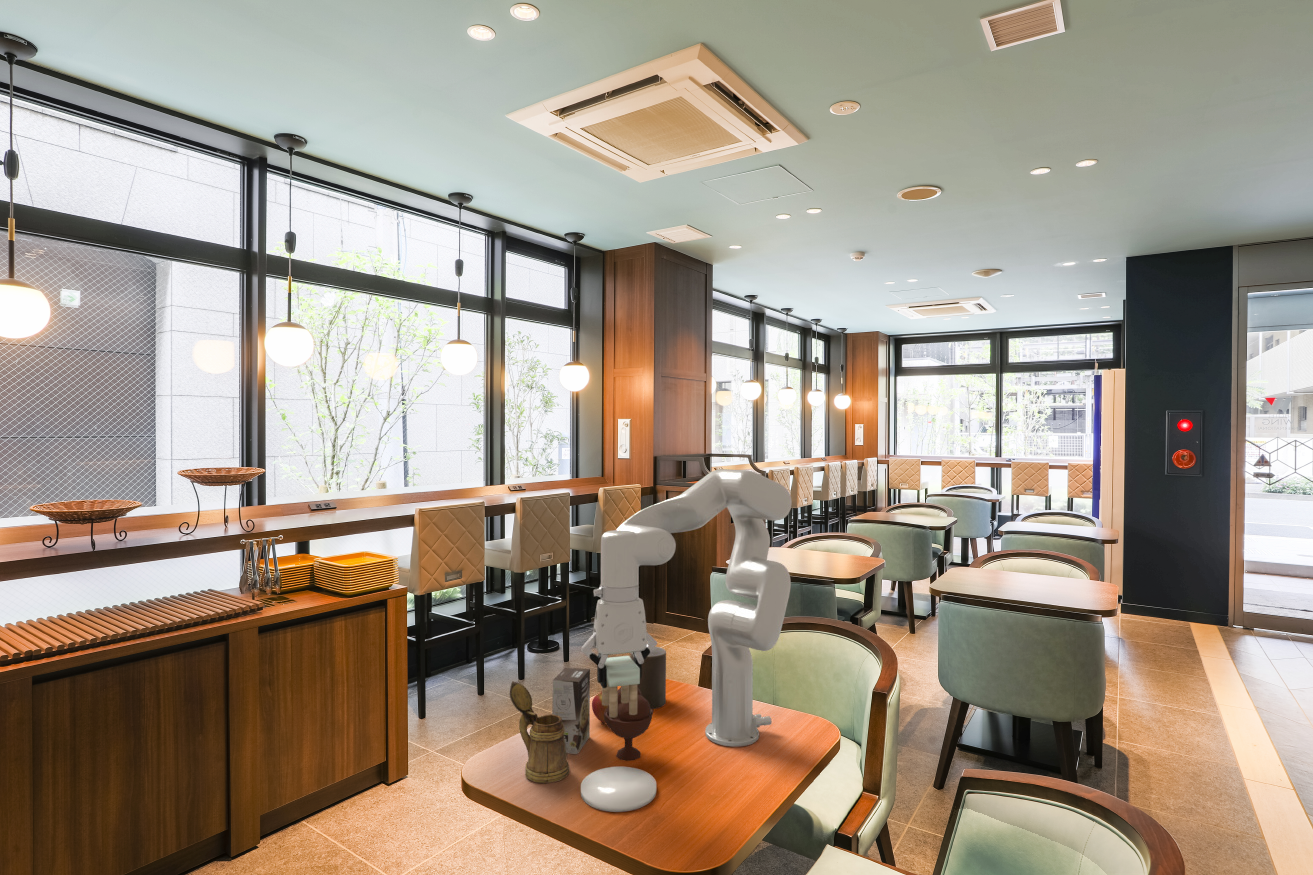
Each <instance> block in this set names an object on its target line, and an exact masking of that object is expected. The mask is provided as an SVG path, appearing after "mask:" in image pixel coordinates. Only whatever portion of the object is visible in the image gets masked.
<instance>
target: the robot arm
mask: <svg viewBox="0 0 1313 875" xmlns="http://www.w3.org/2000/svg"><path fill="white" fill-rule="evenodd" d="M792 504H793V503H792V496H791V493H790V492H789V490H788V489H787V488H786V487H785V486H784V485H783V484H781V483H779V482H777V481H775V480H772V479H770V478H768V477H766V476H765V475H761V474H760V473H757V472H755V471H752V470H747V469H729V468H728V469H723V468H721V469H715V470H712V471H711V472H709V473H707V474H706V475H705V476H703V477H702V478H701V479H699V480H698V481H697V482H696V483H694V484H693V485H691V486H690V487H689V488H688V489H686V490H685V491H683V492H682V493H680V494H679V495H677V496H674V497H670V498H668V499H665V500H663V501H659V502H658V503H655V504H653V505H650V506H648V507H645V508H643V509H641V510H639V511H637V512H636V513H634V514H632V515H631V516H629V518H627V519H625V520H624V521H623V522H622V523H621V524H620V525H619V526H618V527H617V528H616V529H614V530H607V531H605V532H603V534H602V535H601V539H600V584H599V587H598V588H595V589H593V597H599V598H600V599H598V600H597V603H596V608H595V613H594V614H595V615H594V622H593V632H592V635H591V636H590V637H589V638H588V639H587V640H586V641H585V643H584V644H583V645H581V647H580V650H581V652H582V653H583V654H584V655H585V656H586V657H587V658H588V659H590V660H591V662H593V663H594V664H595V665H596V666H597V668H596V671H597V672H596V680H597V683H598V684H600V686H601V688H602V687H603V688H606V687H607V669H606V667H605V662H606V660H607V658H609V657H608V656H611V655H621V654H630V653H633V656H634V660H633V661H634V662H635V664H636V665H637V666H638V667H639V668H640V678H641V677H642V663H643V662H644V659H645V658H646V657H647V656H648V655H649V654H650V651H652V650H653V648H654V647H657V645H658V641H657V640H656V639H655V638H654V637H653V636H652V635H651V634H650V633H649V632H647V620H646V610H645V606H644V600H643V598H640V597H639V592H640V591H639V588H640V586H639V584H640V582H639V574H640V573H639V570H640V569H639V567H640V566H658V565H659V566H660V565H664V564H666V563H667V562H668V561H670V560H672V558H673V557H674V554H675V552H676V545H677V544H676V540H675V538H674V536H673V535H672V534H675V533H683V532H689V531H693V530H697V529H700V528H702V527H703V526H705V525H706V524H707V523H708V522H710V521H711V520H712V519H714V517H716V516H717V515H718V514H720V513H721V512H722V511H723V510H725V509H726V508H727V510H728V512H729V514H730V516H731V518H732V521H733V524H734V527H735V528H734V529H735V530H734V531H735V538H734V542H733V547H732V551H731V555H730V558H729V563H728V567H727V569H726V575H725V582H724V583H725V587H726V589H727V591H729V593H732V595H735V596H739V597H743V598H747V599H752V600H756V601H757V604H756V605H754V604H750V603H747V602H743V601H738V600H733V599H725V600H719V601H717V602H716V603H715V604H713V606H712V607H711V608H710V610H709V613H708V618H707V622H708V623H707V625H708V631H709V637H710V642H711V644H710V645H711V654H712V656H711V658H712V661H711V663H712V667H711V691H712V692H711V722H710V723H709V724H708V725H706V727H705V729H704V730H705V737H706V738H707V739H708V740H709V741H711V742H713V743H714V744H717V745H721V746H724V747H734V748H735V747H739V748H740V747H746V746H749V745H752V744H754V743H756V742H758V740H759V738H760V730H759V729H758V728H760V727H761V726H771V725H772V718H771V716H770V715H766V716H762V714H761V713H757V714H753V705H754V704H753V700H754V699H753V694H754V693H753V686H754V685H753V684H754V683H753V682H754V681H753V678H754V675H753V670H754V668H753V667H754V664H753V657H752V653H751V651H750V649H753V650H756V651H761V652H768V651H769V650H771V649H773V648H774V647H775V646H776V644H777V643H778V641H779V638H780V635H781V632H782V628H783V624H784V619H785V617H786V616H785V615H786V610H787V607H788V602H789V598H790V594H791V587H792V586H791V585H792V584H791V583H792V582H791V575H790V572H789V570H788V568H787V567H786V566H785V565H784V564H783V563H780V562H779V561H774V560H768V555H769V551H770V545H771V538H770V537H771V536H770V534H769V529H768V528H767V526H766V523H765V522H764V520H766V521H780V520H782V519H785V518H786V517H787V516H788V514H789V513H790V511H791V509H792ZM593 647H594V648H595V649H596V651H597V654H596V653H595V652H593V651H592V650H591V649H592V648H593Z"/></svg>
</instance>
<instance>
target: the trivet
mask: <svg viewBox="0 0 1313 875" xmlns="http://www.w3.org/2000/svg"><path fill="white" fill-rule="evenodd" d="M656 795H657V781H656V779H655V777H653V775H651V774H650V773H648V772H647V771H645V770H642V769H639V768H636V767H630V766H610V767H605V768H600V769H597V770H595V771H593V772H590V773H589V774H588V775H587V776H585V777H584V778H583V780H582V781H581V783H580V796H581V799H582V801H583V802H584V803H585V804H586V805H587V806H590V807H591V808H593V809H596V810H599V811H603V812H613V813H622V812H629V811H630V812H631V811H635V810H639V809H640V808H643V807H645V806H647V805H648V804H649V803H651V802H652V801H653V800H654V799H655V797H656Z"/></svg>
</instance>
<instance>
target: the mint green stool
mask: <svg viewBox="0 0 1313 875" xmlns="http://www.w3.org/2000/svg"><path fill="white" fill-rule="evenodd" d="M605 667H606V669H607V687H606V688H603V687H602V686H601V692H602V705H604V706H608V705H609V717H612V718H615V717H617V716H618V689H619V687H621V703H628V702H629V714H630V715H636V714H637V684H640V668H639V667H638V666H637V665H636V664H635V662H634V661H633V660H632V659H631V658H630V655H623V656H614V657H612V656H611V657H607V660H606V662H605Z"/></svg>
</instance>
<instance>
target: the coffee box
mask: <svg viewBox="0 0 1313 875" xmlns="http://www.w3.org/2000/svg"><path fill="white" fill-rule="evenodd" d="M590 684H591V669H590V668H582V667H581V668H579V667H577V668H576V667H565V668H563V669H562V670H561V671H560V673H558V674H557V675H556V677H554V678H553V679H552V712H551V714H553V715H558V716H560V717H561V718H562V723H563V725H564V730H565V733H564V740H565V748H566V754H571V755H572V754H573V755H578V754H579V753H580V751H581V750H582V749H583V747H584V746H585V744H586V743H587V741H588V740H589V739H590V738H591V737H590V735H591V733H590V732H591V731H590V728H591V725H590V724H591V723H590V722H591V721H590V720H591V719H590V714H591V712H590V709H591V708H590V707H591V703H590V702H591V701H590V700H591V698H590V697H591V694H590V692H591V689H590V688H591V685H590Z"/></svg>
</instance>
